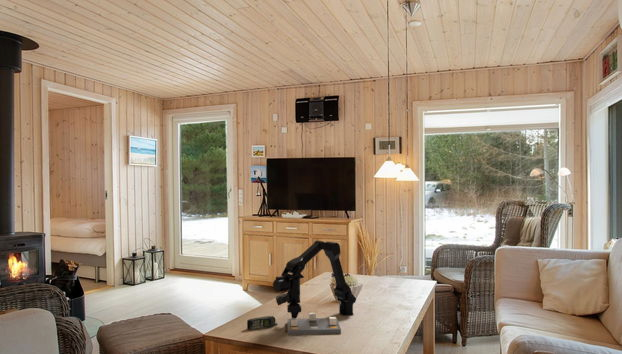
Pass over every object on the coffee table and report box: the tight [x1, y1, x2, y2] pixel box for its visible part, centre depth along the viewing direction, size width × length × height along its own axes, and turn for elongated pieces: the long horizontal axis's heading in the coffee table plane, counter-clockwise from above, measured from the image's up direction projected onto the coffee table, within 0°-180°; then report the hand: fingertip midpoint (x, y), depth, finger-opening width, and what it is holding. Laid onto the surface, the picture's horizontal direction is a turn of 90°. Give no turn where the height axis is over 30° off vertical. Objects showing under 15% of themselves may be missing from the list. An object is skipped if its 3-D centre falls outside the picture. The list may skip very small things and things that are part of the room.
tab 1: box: [290, 317, 299, 326], centre depth 198 cm, size 3×2×3 cm
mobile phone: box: [246, 315, 278, 331], centre depth 201 cm, size 5×3×15 cm
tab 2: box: [328, 316, 337, 325], centre depth 199 cm, size 3×2×3 cm
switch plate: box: [286, 317, 342, 336], centre depth 201 cm, size 24×16×2 cm, turn 94°
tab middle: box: [308, 312, 317, 321], centre depth 206 cm, size 3×2×3 cm
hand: (293, 321), depth 200 cm, fingers closed
